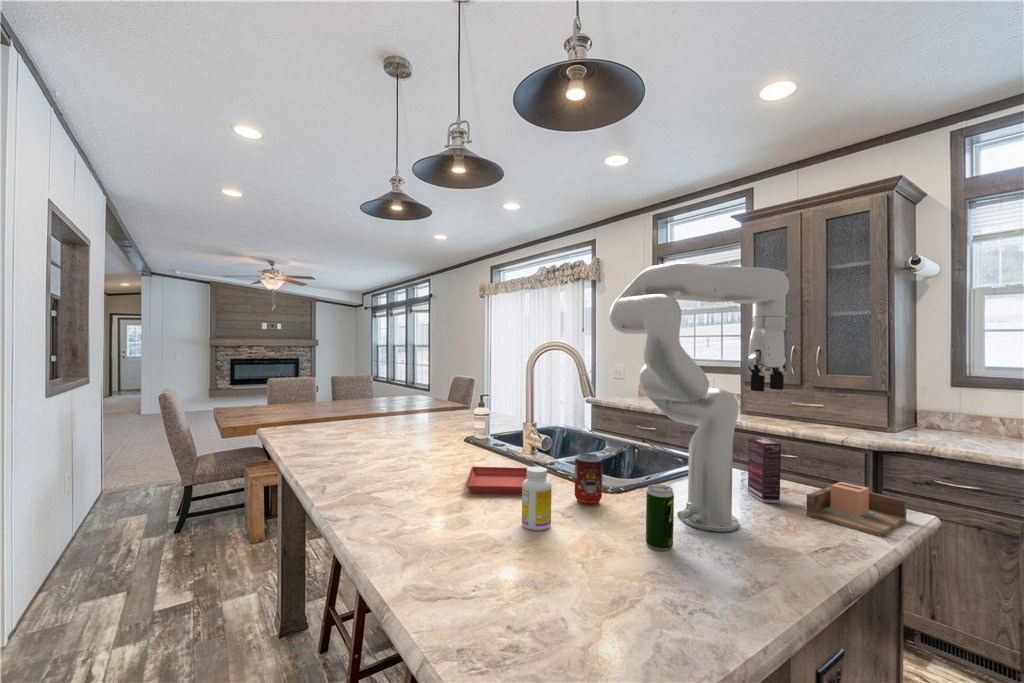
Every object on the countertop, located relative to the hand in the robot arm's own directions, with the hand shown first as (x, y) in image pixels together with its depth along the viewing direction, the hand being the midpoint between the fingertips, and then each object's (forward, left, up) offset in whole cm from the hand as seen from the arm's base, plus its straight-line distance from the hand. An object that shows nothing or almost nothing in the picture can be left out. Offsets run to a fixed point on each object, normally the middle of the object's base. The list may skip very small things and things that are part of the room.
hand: (767, 390), depth 120 cm
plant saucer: (-49, +51, -31) cm, 77 cm away
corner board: (+12, -16, -30) cm, 36 cm away
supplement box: (+7, +4, -31) cm, 32 cm away
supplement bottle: (-58, +22, -31) cm, 69 cm away
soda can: (-37, +27, -31) cm, 55 cm away
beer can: (-43, 0, -31) cm, 53 cm away
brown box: (+12, -14, -29) cm, 35 cm away
